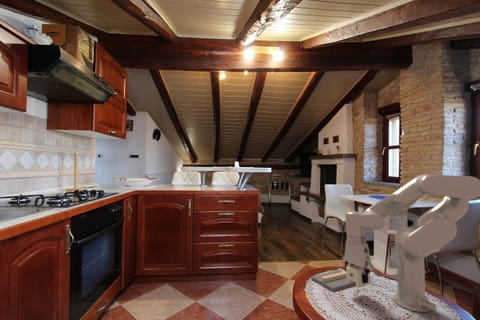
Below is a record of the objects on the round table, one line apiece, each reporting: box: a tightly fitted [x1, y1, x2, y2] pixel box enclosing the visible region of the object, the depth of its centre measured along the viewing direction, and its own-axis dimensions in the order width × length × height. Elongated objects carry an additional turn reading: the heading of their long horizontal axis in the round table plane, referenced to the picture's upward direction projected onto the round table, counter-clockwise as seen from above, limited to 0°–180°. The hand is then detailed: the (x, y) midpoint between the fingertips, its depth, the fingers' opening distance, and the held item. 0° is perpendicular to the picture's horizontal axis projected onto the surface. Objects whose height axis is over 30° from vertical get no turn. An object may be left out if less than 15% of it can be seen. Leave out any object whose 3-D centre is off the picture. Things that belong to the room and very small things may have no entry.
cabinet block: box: [346, 265, 372, 289], centre depth 107 cm, size 6×9×7 cm
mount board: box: [310, 269, 356, 292], centre depth 121 cm, size 14×20×3 cm
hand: (358, 279), depth 107 cm, fingers closed on cabinet block, 6 cm apart
